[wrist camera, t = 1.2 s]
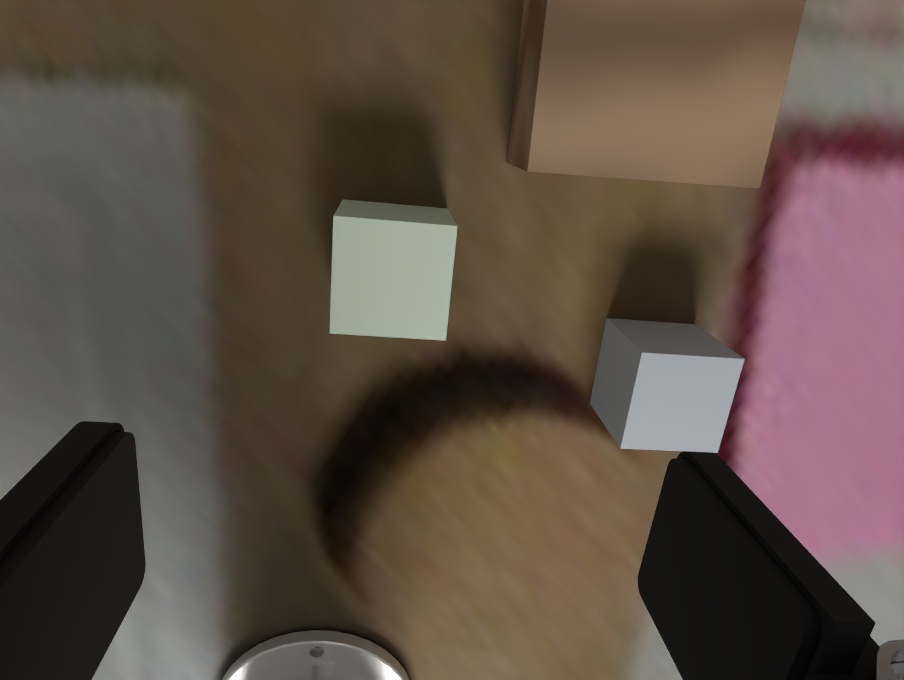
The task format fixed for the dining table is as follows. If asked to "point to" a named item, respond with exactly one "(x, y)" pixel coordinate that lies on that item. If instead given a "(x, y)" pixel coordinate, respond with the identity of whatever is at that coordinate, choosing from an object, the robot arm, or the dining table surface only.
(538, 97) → the walnut base block
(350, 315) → the sage block
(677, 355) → the slate block
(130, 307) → the dining table surface
